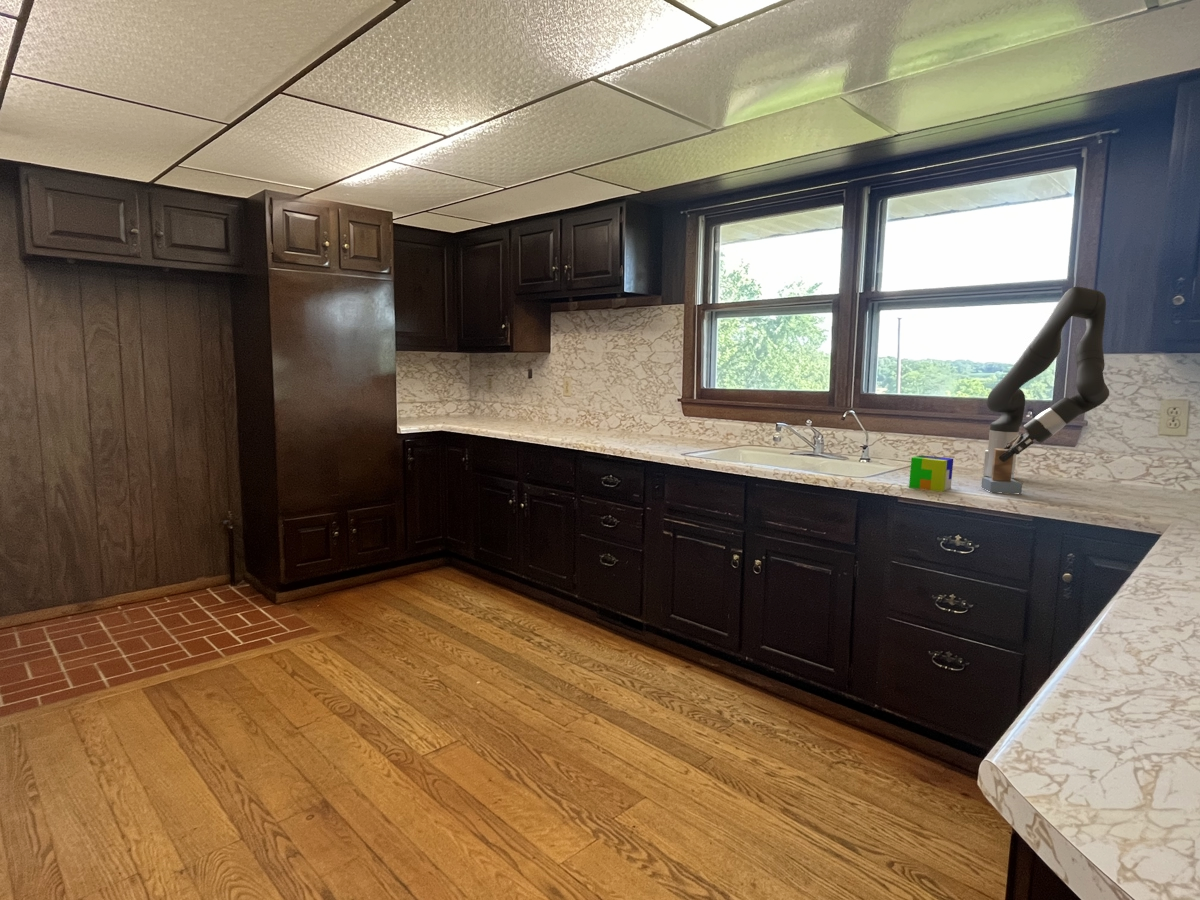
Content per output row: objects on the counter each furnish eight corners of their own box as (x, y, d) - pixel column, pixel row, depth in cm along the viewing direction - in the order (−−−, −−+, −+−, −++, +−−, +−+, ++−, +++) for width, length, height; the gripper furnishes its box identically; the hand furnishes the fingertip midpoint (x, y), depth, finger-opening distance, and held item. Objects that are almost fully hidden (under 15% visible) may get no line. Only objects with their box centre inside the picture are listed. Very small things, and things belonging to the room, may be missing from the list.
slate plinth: (990, 493, 217) (991, 481, 217) (981, 488, 226) (982, 477, 225) (1021, 495, 215) (1022, 483, 215) (1010, 490, 224) (1012, 478, 223)
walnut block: (992, 480, 219) (996, 449, 217) (991, 478, 223) (994, 448, 222) (1010, 481, 217) (1013, 451, 215) (1008, 479, 221) (1012, 449, 220)
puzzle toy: (950, 488, 224) (953, 458, 222) (941, 491, 216) (944, 461, 215) (919, 484, 230) (921, 455, 229) (908, 487, 223) (911, 457, 222)
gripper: (1032, 415, 221) (988, 447, 227) (1039, 418, 208) (992, 452, 214) (1049, 432, 219) (1005, 464, 225) (1057, 436, 206) (1010, 470, 212)
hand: (999, 458), depth 220 cm, fingers open, 8 cm apart
